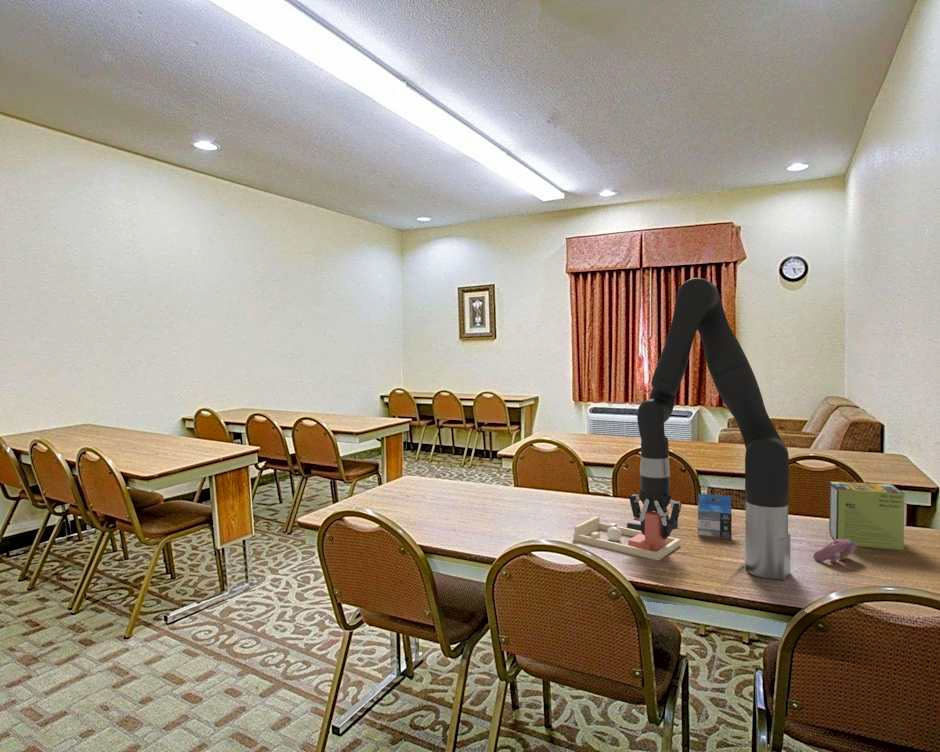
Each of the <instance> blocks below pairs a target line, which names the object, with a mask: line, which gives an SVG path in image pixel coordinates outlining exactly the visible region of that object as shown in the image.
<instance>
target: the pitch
mask: <svg viewBox="0 0 940 752" xmlns="http://www.w3.org/2000/svg"><path fill="white" fill-rule="evenodd" d="M610 527H617V528H619V529H620V531H621V535H625V536H631V537H634V536H636V535H638V534H642V532H641V531H638V530H633V529H629V528H627V527H623V526H618V523H615V522H610V523H609V524H608V523H605V522H600V516H597V515H596V516H594V517H591V518H590V519H587V520H585V521H583V522H581V523H579V524H577V525H574V533H573V534H572V535H573V536H572V538H573V541H575V542H579V543H584V544H589V545H591V546H592V545H593V546H596V547H601V548H605V549H609V550H613V551H618V552H622V553H626V554H629V555H634V556H639V557H643V558H646V559H650V560H655V561H660V560H662V559H663V558H665V557H666V556H668V555H669V554H670V553H671V552H673V551H674V550H676V549H677V548H679V547H680V546H681V539H680V538H676V537H671V536H669V537H668V538H667V539H665V546H664V547H663V548H661V549H660V550H658V551H657V552H654V551H650V550H645V549H641V548H637V547H632V546H628V544H622V543H619V542H616V541H611V540H610V541H609V540H606V539H601V533H600V532H598V531H599V530H602V531H606V532H607V531H608V529H609V528H610ZM589 535H590V536H589Z"/></svg>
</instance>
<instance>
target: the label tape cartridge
mask: <svg viewBox="0 0 940 752" xmlns="http://www.w3.org/2000/svg"><path fill="white" fill-rule="evenodd" d="M697 495H698V499H697V500H698V502H697V535H698V536H706V537H714V538H720V539H723V540H728V541H729V540H730V541H732V523H733V522H732V521H733V520H732V518H733V517H732V515H733V514H732V505H731V497H732V496H731V495H722V494H721V495H720V494H707V493H698V494H697ZM713 499H715V500H713ZM717 500H719V501H717Z"/></svg>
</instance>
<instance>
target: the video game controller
mask: <svg viewBox="0 0 940 752" xmlns="http://www.w3.org/2000/svg"><path fill="white" fill-rule="evenodd" d="M857 547H858V546H857V545H856V544H855V543H853V542H852V541H849V540H848V539H846V540H845V539H837V540H833V541H832V542H830V543H829V544H827V545H825V546H824V547H822V548H820V549H819V550H816V551H815V552H814V553H813V558H814V560H815V561H816V562H817V561H818V562H824V561H828V560H830V562H832V563H836V562H837V561H838V560H840V561H844V560H845V559H847V557H848V556H850V555H851V554H852V553H854V552H855V550H857Z"/></svg>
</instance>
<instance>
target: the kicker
mask: <svg viewBox="0 0 940 752" xmlns="http://www.w3.org/2000/svg"><path fill="white" fill-rule="evenodd" d="M662 525H663V523H662V520H661V518H660V517H659V514H658V512H655V511H648V512H646V513H645V535H643V534H638V535H636V536H632V537H631V538H629V539H628V540H627V541H628V542H627V545H628V546H632V547H637V548H641V549H645V550H650V551H654V552H657V551H658V550H660V549H661V548H663V547H664V546H666V543H665V539H662Z"/></svg>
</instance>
